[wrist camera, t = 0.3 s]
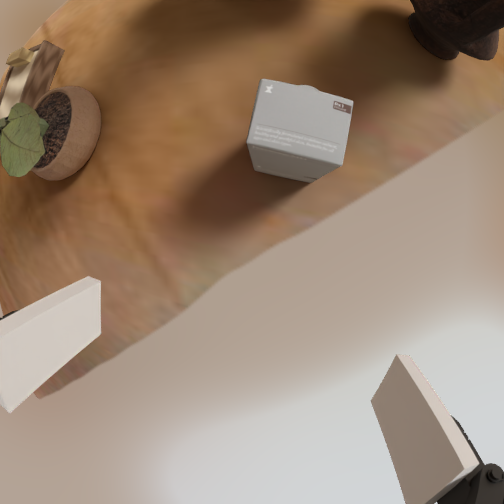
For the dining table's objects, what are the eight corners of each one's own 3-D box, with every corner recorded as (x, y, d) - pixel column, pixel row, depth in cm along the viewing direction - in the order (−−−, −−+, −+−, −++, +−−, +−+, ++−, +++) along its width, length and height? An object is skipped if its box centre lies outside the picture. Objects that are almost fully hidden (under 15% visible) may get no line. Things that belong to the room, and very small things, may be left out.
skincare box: (254, 171, 36) (236, 151, 20) (264, 122, 34) (255, 73, 19) (315, 185, 35) (342, 175, 20) (325, 136, 34) (355, 96, 18)
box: (33, 61, 34) (15, 54, 27) (64, 50, 33) (45, 40, 26) (7, 145, 38) (-14, 144, 31) (34, 144, 38) (10, 142, 31)
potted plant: (32, 154, 38) (-84, 151, 9) (79, 78, 34) (-38, 32, 5) (85, 224, 40) (-68, 264, 10) (144, 137, 36) (-27, 83, 7)
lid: (19, 60, 29) (5, 55, 24) (42, 50, 28) (28, 43, 23) (-6, 139, 33) (-21, 138, 28) (13, 137, 32) (-4, 135, 27)
